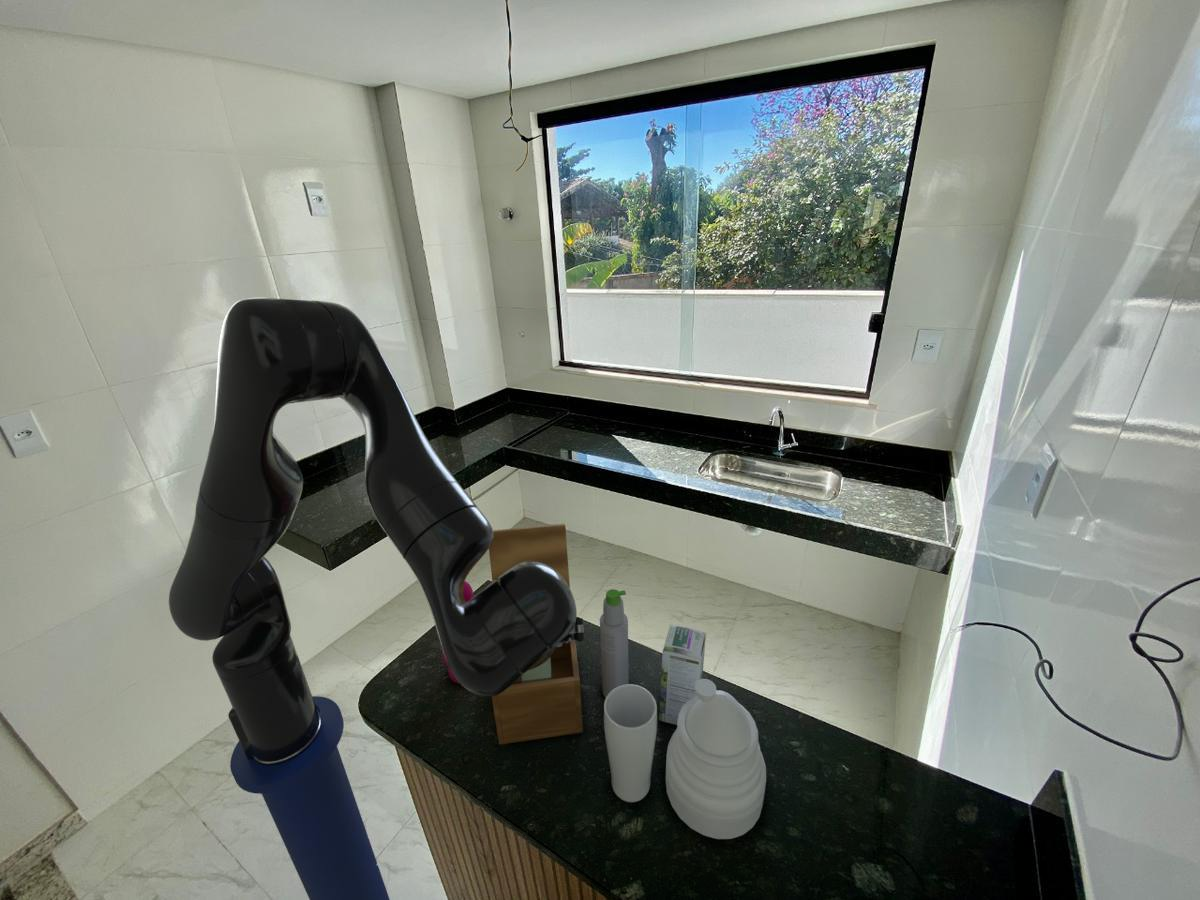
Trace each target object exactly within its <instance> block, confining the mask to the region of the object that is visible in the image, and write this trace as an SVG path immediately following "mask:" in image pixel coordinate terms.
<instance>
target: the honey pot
mask: <svg viewBox="0 0 1200 900" xmlns="http://www.w3.org/2000/svg"><path fill="white" fill-rule="evenodd" d="M695 692H696V695H697V696H695V697H693V698H692V699H690V700H688V701H687V702H686V703H685V704H684V705H683V706H682V708H681V710H680V712H679V714H678V720H677V725H676V729H675V730H674V732H673V733H672V735H671V738H670V739H669V741H668V744H667V749H666V759H665V760H666V761H665V788H666V795H667V797H668V800H669V802H670V805H671V807H672V808H673V810H674V812H675V813H676V814H677V816H678V817H679V819H680V820H681V821H682V822H684V824H686V825H687V826H688V827H689V828H690V829H691V830H693V831H694V832H697V833H698V834H700V835H702V836H705V837H708V838H712V839H716V840H731V839H736V838H738V837H742V836H743V835H745V834H746V833H748V832H749V831H750V830H751V829H753V828H754V826H755V825H756V823H757V822H758V820H759V819H760V817H761V814H762V810H763V805H764V801H765V800H764V799H765V793H766V783H767V766H766V762H765V759H764V756H763V752H762V751H761V746H760V742H759V731H758V727H757V724H756V721H755V719H754V718H753V716H752V714H751V713H750V712H749V711H748V710H747V709H746V707H744V706H743V704H742V703H739V702H738V700H737V699H736V698H735V697H734V696H733V695H732V694H730V693H729V692H727V691H724V690H721V689H720V690H719V689H718V690H717V686H716V684H715V682H713V681H712V680H711V679H708V678H702V679H699V680H698V681H697V682H696V683H695Z"/></svg>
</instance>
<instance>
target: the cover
mask: <svg viewBox="0 0 1200 900" xmlns="http://www.w3.org/2000/svg"><path fill="white" fill-rule="evenodd" d="M566 530H567V529H566V523H556V524H554V523H553V524H546V525H545V524H544V525H534V526H525V527H515V528H514V527H513V528H504V529H493V532H494V539H493V542H492V544H491V546H490V548H489V549H488V553H489V562H490V563H489V564H490V570H491V571H490V572H491V581H492V582H493V581H495V580H496V579H498V577H499V576H501V575H502V574H503V573H504V572H506V571H507V570H508V569H510V568H511V567H513V566H514V565H516V564H518V563H521V562H524V561H539V562H542V563H544V564H546V565H548V566H550V567H552V568H553V569H554V570H556V571H557V572H558V573H559V574H560V575H561V576H562V578H563V579H564V580H565V581H566V583H567V584H568V586H569V588H570V589H571V585H570V569H569V555H568V544H567V543H568V542H567V531H566ZM498 580H499V579H498ZM492 582H491V583H492Z"/></svg>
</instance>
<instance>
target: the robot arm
mask: <svg viewBox="0 0 1200 900" xmlns="http://www.w3.org/2000/svg"><path fill="white" fill-rule="evenodd" d="M222 323H223V324H222V326H221V331H220V338H219V345H218V353H217V354H218V355H217V369H216V370H217V371H216V385H215V386H216V388H215V403H214V415H213V424H212V430H211V435H210V442H209V447H208V451H207V455H206V456H207V457H206V461H205V466H204V469H203V472H202V476H201V480H200V483H199V488H198V494H197V498H196V503H195V509H194V510H195V511H194V519H193V522H192V526H191V530H190V535H189V538H188V542H187V546H186V549H185V553H184V555H183V558H182V560H181V562H180V565H179V567H178V570H177V572H176V574H175V576H174V578H173V581H172V583H171V586H170V589H169V594H168V607H169V613H170V616H171V619H172V621H173V623H174V624H175V626H176V628H178V629H179V631H180V632H182V634H184V635H185V636H187V637H189V638H191V639H193V640H197V641H203V642H205V641H206V642H209V641H214V640H218V639H219V641H218V643H217V644H216V645H215V647H214V649H213V652H212V656H211V659H212V665H213V667H214V669H215V671H216V674H217V676H218V678H219V680H220V683H221V685H222V687H223V690H224V692H225V694H226V696H227V698H228V701H229V703H230V705H231V709H230V710H229V712H228V714H227V715H228V719H229V722H230V723H231V726H232V728H233V731H234V733H235V735H236V737H237V739H238V742H239V741H240V743H241V746H242V748H243V750H244V752H245V755H246V757H247V759H248V760H250V759H255V761H256V762H257V763H259V764H261V765H266V766H272V765H278V764H282V763H285V762H287V761H289V760H291V759H293V758H295V757H297V756H298V755H300V754H301V753H302V752H304V751H305V750H306V749H307V748H308V747H309V746H310V745H311V744H312V743H313V742H314V741H315V739H316V738H317V736H318V734H319V732H320V729H321V723H322V722H321V718H320V715H319V714H318V712H317V710H318V711H319V712H320V709H319V708H318V707H317V705H316V704H315V703H314V700H313V697H312V696H313V695H312V692H311V689H310V686H309V684H308V681H307V678H306V675H305V671H304V669H303V667H302V663H301V660H300V658H299V655H298V652H297V649H296V646H295V644H294V641H293V638H292V635H291V632H292V631H291V630H292V623H291V619H290V615H289V612H288V608H287V604H286V601H285V596H284V592H283V589H282V586H281V582H280V580H279V576H278V574H277V572H276V570H275V568H274V567H273V566H272V564H271V563H270V560H268V558H266V557H265V556H266V555H267V554H268V553H269V552H270V551H271V549H272V548H274V546H276V544H277V543H278V541H280V539H281V538H282V537H283V535H284V534H285V533H286V531H287V529H288V528H289V526H290V525H291V523H292V520H293V518H294V515H295V514H296V510H297V507H298V505H299V502H300V499H301V496H302V493H303V490H304V489H303V488H304V477H303V476H304V475H303V473H302V470H301V468H300V465H299V464H298V462H297V460H296V459H295V458H294V456H293V455H292V453H291V452H290V451H289V450H288V448H287V447H286V446H285V445H284V444H283V443H282V442H281V441H280V439H279V438H278V437H277V435H276V434H275V432H274V425H275V420H276V417H277V416H278V413H279V412H280V410H281V409H282V408H283V407H285V406H286V405H289V404H295V403H305V402H314V401H323V400H333V399H338V398H341V399H342V400H343V401H344V402H345V403H346V404H347V405H348V406H349V407H350V408H351V409H352V410H353V412H354V413H355V414H356V415H357V416H358V418H359V419H360V421H361V423H362V426H363V429H364V437H365V457H364V487H365V488H364V489H365V493H366V498H367V502H368V504H369V507H370V509H371V511H372V515H373V516H374V518H375V519H376V521H377V522H378V524H379V526H380V527H381V530H383V531H384V533H385V534H386V536H387V537H388V538H389V540H390V542H391V543H392V544H393V546H394V547H395V549H396V550H397V551H398V553H399V554H400V556H401V557H402V559H403V560H404V561H405V563H406V564H407V565H408V567H409V569H410V570H411V571H412V573H413V575H414V577H415V578H416V580H417V583H418V584H419V586H420V588H421V590H422V592H423V595H424V597H425V600H426V603H427V605H428V607H429V610H430V614H431V616H432V619H433V622H434V626H435V629H436V632H437V637H438V639H439V643H440V646H441V649H443V653H444V655H445V658H446V661H447V663H448V666H449V668H450V670H451V672H452V674H453V675H454V677H455V678H456V680H457V681H458V682H459V683H458V684H459V685H460V686H461V687H463V688H464V689H465V690H466V691H468V692H470V693H471V694H474V695H477V696H480V697H484V698H492V696H496V695H498V694H500V693H502V692H503V691H505V690H506V689H507V688H508V687H510V686H511V685H512V684H513V683H514V682H515V681H516V680H518V679H519V678H520V677H521V676H522V675H523V673H525V672H526V671H528V670H531V669H534V668H536V667H538V666H540V665H542V664H543V663H545V662H546V661H547V660H548V659H549V658H550V657H551V655H552V654H553V652H554V651H555V648H556V647H561V646H562V644H563V642H565V643H569V642H571V640H575V642H576V641H577V642H583V640H586V636H585V627H584V619H583V617H580V616H577V612H578V611H577V605H576V600H575V597H574V595H573V592H572V590H571V587H570V588H569V586H568V584H567V583H566V581H565V580H564V579H563V578H562V576H561V575H560V574H559V573H558V572H557V571H556V570H554V569H553V568H552V567H550V566H548V565H546V564H544V563H542V562H539V561H524V562H521V563H518V564H516V565H514V566H513V567H511V568H510V569H508V570H507V571H506V572H504V573H503V574H502V575H501V576H499V577H498V579H499V580H498V579H496V580H495V581H493V582H491V583H489V584H488V585H487V586H486V587H484V588H483V589H482V590H481V591H479V592H478V593H476V595H474V597H473V598H472V599H471V600H470V601H468V602H465V600H464V596H463V587H464V582H465V581H466V579H467V577H468V576H469V574H470V572H471V571H472V570H473V568H474V567H475V566H476V565H477V564H478V562H479V561H480V560H481V559H482V558H483V557H484V555H486V553H487V552H488V551H489V548H490V546H491V544H492V542H493V539H494V532H493V530H494V529H493V527H492V525H491V523H490V522H489V520H488V519H487V518H486V516H485V515H484V513H483V512H482V511H481V510H480V508H479V507H478V506H477V505H476V503H475V502H474V500H472V498H471V497H470V496H469V494H468V493H467V491H466V490H465V489H464V487H462V485H461V484H460V483H459V481H458V480H457V479H456V477H455V476H454V475H453V473H452V472H451V471H450V470H449V469H448V468H447V466H446V465H445V462H443V460H442V459H441V457H440V456H439V455H438V453H437V451H436V450H435V449H434V447H433V445H432V444H431V443H430V441H429V439H428V437H427V436H426V434H425V433H424V431H423V428H422V427H421V425H420V424H419V422H418V420H417V418H416V416H415V414H414V412H413V410H412V408H411V407H410V404H409V403H408V401H407V398H406V396H405V394H404V393H403V390H402V388H401V386H400V385H399V383H398V381H397V379H396V378H395V375H394V374H393V372H392V370H391V368H390V366H389V364H388V363H387V361H386V358H385V357H384V355H383V354H382V352H381V349H380V348H379V346H378V344H377V342H376V341H375V338H374V337H373V336H372V334H371V333H370V331H369V329H368V327H366V325H365V324H364V322H363V321H362V320H361V319H360V317H358V315H357V314H356V313H355V312H353V310H352V309H350V308H348V307H347V306H344V305H342V304H340V303H336V302H332V301H323V300H312V299H311V300H307V299H290V298H289V299H288V298H276V297H250V298H243V299H241V300H237V301H236V302H235V303H233V304H232V306H231V307H230V308H229V310H228V311H227V314H226V315H225V317H224V320H223V322H222ZM448 666H447V667H448ZM316 708H317V709H316ZM320 714H321V712H320Z"/></svg>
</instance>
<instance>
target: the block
mask: <svg viewBox="0 0 1200 900" xmlns="http://www.w3.org/2000/svg"><path fill="white" fill-rule="evenodd" d="M551 679H552V669H551V658H549V659H548V660H547V661H546V662H545V663H543V664H542V665H540V666H538V667H536V668H534V669H531V670H528V671H526V672H525V673H523V675H522V683H529V682H536V681H544V680H551Z"/></svg>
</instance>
